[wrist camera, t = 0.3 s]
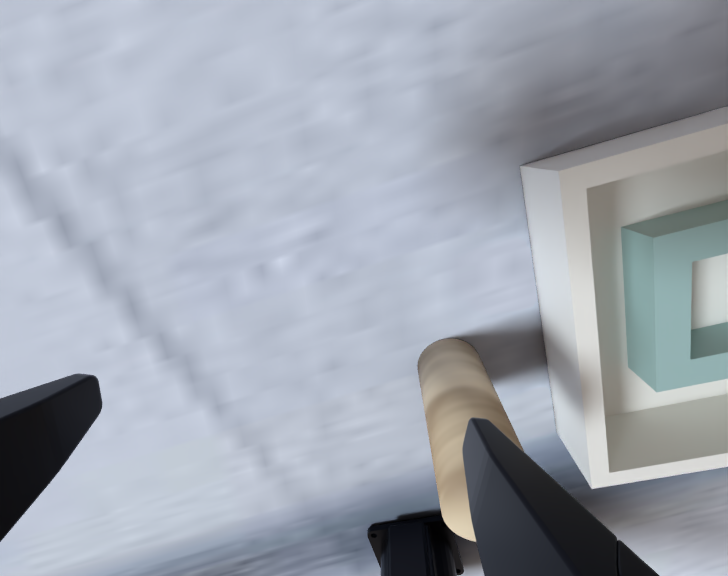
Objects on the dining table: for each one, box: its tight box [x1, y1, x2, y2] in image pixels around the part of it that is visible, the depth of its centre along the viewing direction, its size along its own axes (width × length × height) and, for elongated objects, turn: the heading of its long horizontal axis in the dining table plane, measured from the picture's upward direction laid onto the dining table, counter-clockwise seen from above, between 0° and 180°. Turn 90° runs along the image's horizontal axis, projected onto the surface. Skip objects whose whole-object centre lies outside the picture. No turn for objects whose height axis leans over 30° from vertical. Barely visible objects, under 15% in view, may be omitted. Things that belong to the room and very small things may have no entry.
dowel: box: [418, 338, 524, 542], centre depth 19 cm, size 4×4×10 cm
